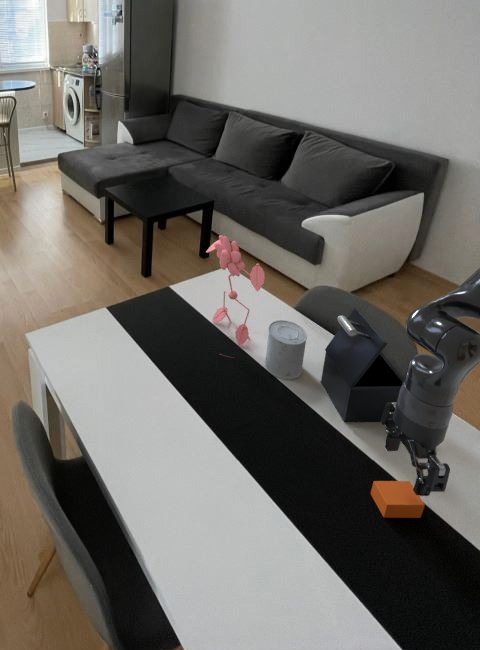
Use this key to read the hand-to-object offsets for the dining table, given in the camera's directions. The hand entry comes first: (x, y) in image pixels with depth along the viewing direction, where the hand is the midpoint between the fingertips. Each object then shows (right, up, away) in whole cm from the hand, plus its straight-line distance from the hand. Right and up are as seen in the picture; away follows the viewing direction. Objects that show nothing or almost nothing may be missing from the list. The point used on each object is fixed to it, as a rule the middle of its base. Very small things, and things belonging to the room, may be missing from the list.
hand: (404, 470), depth 83 cm
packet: (+1, -10, +4) cm, 11 cm away
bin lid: (+4, +16, +20) cm, 26 cm away
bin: (+9, 0, +27) cm, 28 cm away
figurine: (-18, +7, +52) cm, 56 cm away
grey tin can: (-5, +3, +39) cm, 39 cm away
